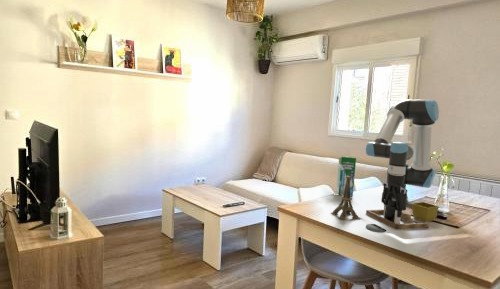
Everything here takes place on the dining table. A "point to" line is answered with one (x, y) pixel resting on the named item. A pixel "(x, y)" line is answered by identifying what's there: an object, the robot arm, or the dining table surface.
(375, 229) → the coaster
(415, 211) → the flower pot
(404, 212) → the offcut top
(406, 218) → the offcut middle
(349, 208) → the eiffel tower
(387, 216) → the supplement bottle
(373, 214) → the frame
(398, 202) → the robot arm
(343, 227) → the dining table surface
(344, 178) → the milk carton
